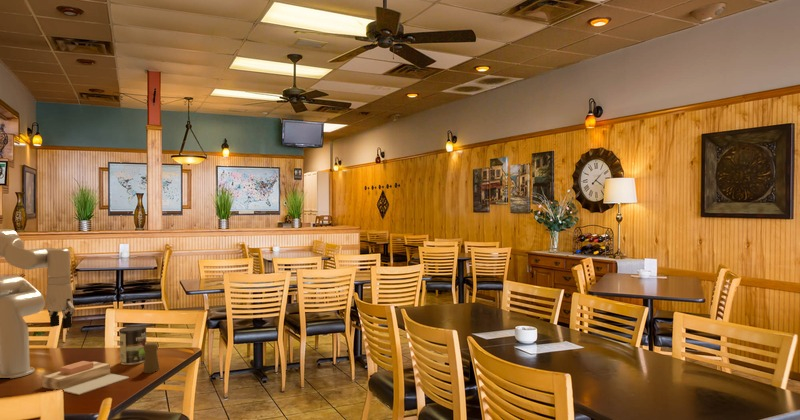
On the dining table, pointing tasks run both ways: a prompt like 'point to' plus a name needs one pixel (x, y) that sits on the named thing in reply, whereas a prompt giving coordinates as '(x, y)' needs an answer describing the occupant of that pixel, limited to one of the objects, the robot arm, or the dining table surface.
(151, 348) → the cork
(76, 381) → the birch board
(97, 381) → the grey mat
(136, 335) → the coffee can
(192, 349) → the dining table surface
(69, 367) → the terracotta tile
